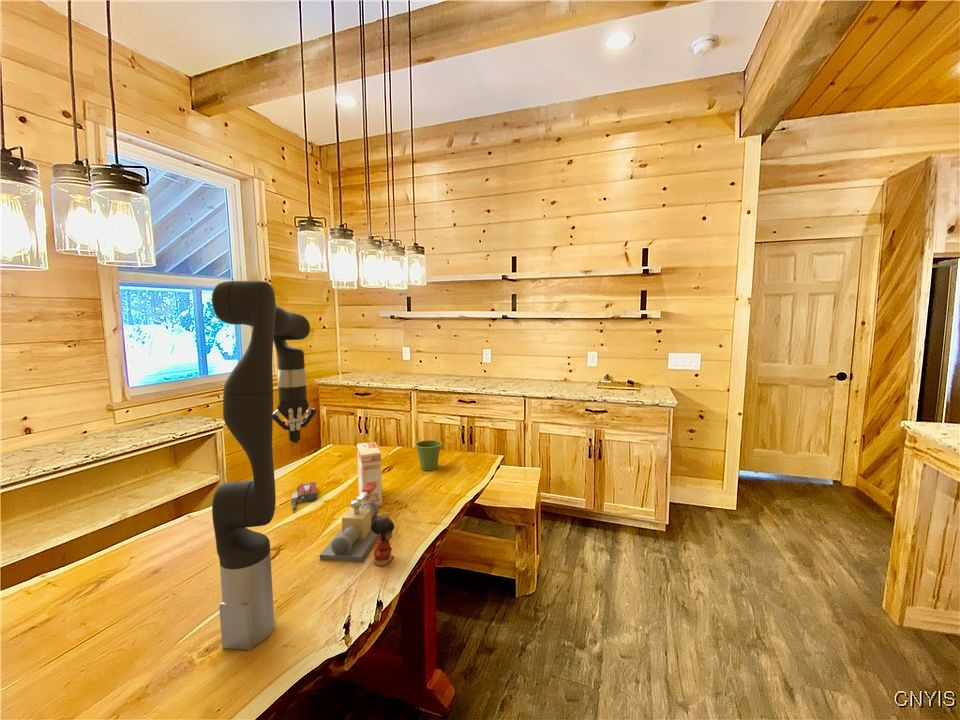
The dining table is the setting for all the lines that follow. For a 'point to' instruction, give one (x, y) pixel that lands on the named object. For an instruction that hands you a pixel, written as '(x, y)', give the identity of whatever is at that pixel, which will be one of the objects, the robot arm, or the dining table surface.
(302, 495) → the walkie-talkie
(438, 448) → the plant pot
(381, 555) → the figurine
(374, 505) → the valve stand
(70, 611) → the dining table surface
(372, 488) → the lever
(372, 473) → the coffeecake box
